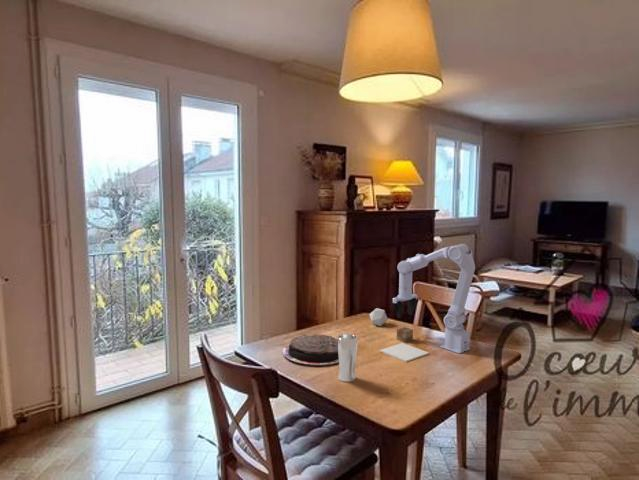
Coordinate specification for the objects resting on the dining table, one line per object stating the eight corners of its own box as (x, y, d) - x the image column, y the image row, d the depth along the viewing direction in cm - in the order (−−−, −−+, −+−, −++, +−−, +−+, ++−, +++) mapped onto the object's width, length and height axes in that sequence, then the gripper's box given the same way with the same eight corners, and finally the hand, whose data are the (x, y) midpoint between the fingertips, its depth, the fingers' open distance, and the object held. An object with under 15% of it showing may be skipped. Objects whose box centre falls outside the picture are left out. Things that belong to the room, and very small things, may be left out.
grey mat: (428, 353, 171) (428, 352, 170) (406, 362, 162) (406, 360, 162) (402, 344, 182) (402, 342, 181) (379, 351, 173) (379, 349, 173)
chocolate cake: (360, 348, 177) (361, 333, 177) (335, 373, 152) (335, 356, 151) (301, 338, 189) (301, 324, 188) (269, 360, 164) (269, 343, 163)
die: (390, 326, 208) (387, 308, 213) (384, 322, 202) (381, 303, 206) (375, 330, 211) (372, 312, 216) (369, 326, 204) (366, 307, 209)
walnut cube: (412, 340, 187) (413, 329, 186) (405, 343, 183) (405, 331, 183) (404, 337, 190) (404, 326, 190) (396, 339, 187) (396, 329, 187)
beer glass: (344, 372, 152) (345, 332, 150) (360, 377, 148) (361, 336, 146) (332, 378, 147) (333, 337, 145) (349, 384, 142) (349, 341, 141)
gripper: (409, 283, 197) (408, 311, 198) (387, 287, 188) (387, 316, 189) (421, 286, 191) (420, 315, 192) (399, 290, 182) (398, 320, 184)
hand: (404, 316), depth 190 cm, fingers open, 7 cm apart
